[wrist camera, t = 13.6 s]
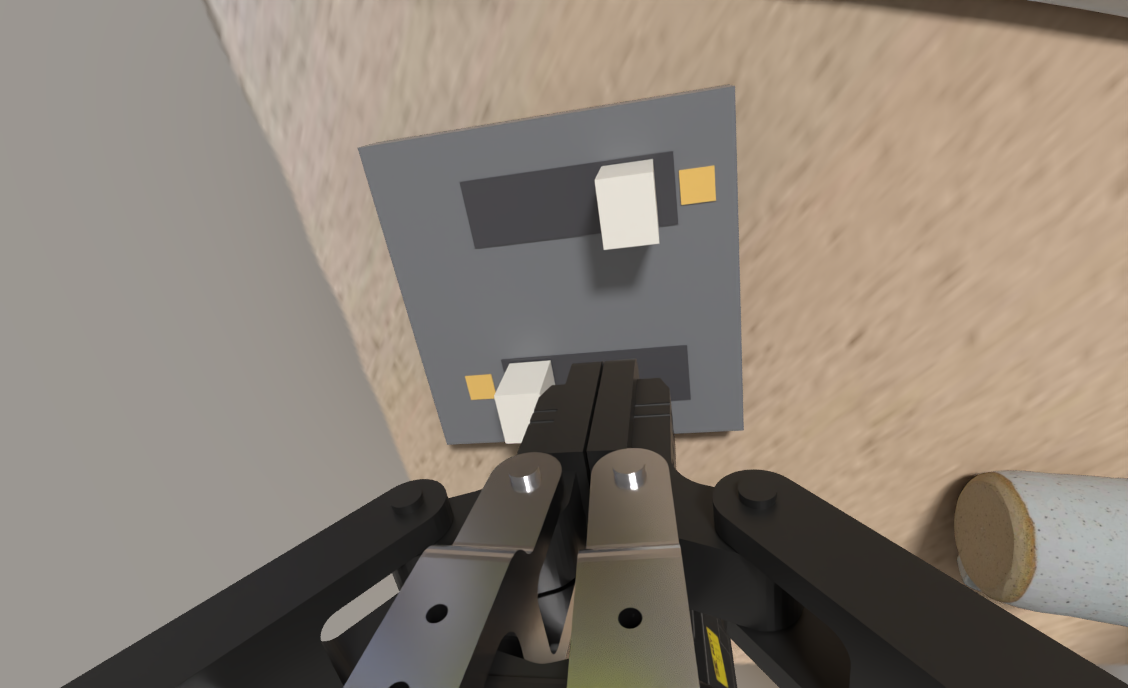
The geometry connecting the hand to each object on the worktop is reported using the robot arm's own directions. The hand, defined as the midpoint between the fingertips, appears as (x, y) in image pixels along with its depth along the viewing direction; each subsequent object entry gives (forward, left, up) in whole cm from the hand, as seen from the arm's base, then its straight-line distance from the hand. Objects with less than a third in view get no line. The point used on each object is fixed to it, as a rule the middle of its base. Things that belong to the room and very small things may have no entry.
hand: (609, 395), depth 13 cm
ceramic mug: (-21, +21, -18) cm, 35 cm away
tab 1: (+6, +9, -16) cm, 19 cm away
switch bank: (+4, +4, -18) cm, 19 cm away
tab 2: (0, -1, -16) cm, 16 cm away
